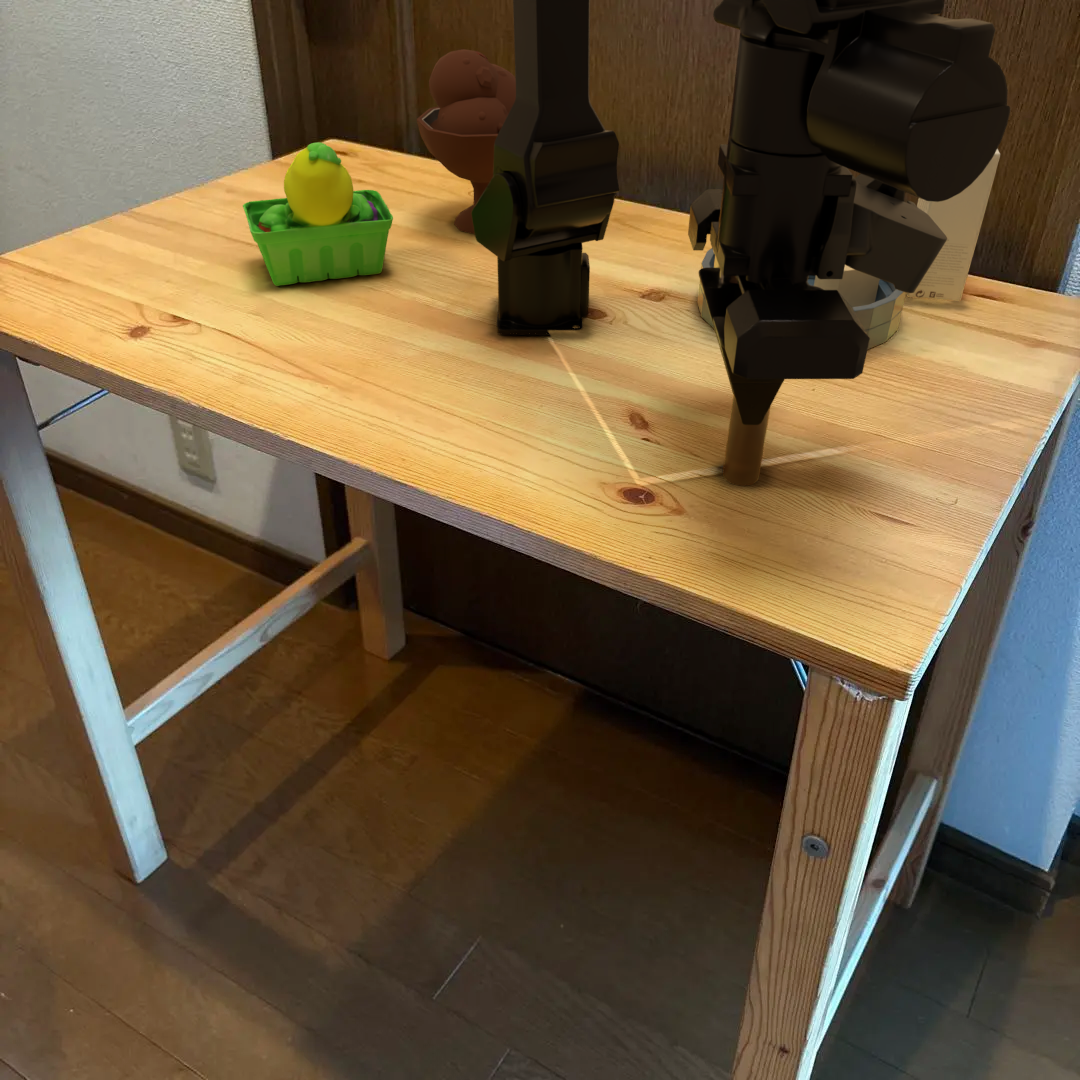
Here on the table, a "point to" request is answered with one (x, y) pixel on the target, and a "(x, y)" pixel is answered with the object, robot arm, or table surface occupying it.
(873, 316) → the bowl
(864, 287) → the block
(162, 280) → the table surface
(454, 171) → the ice cream bowl
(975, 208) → the cosmetic box
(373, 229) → the fruit basket
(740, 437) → the stick
